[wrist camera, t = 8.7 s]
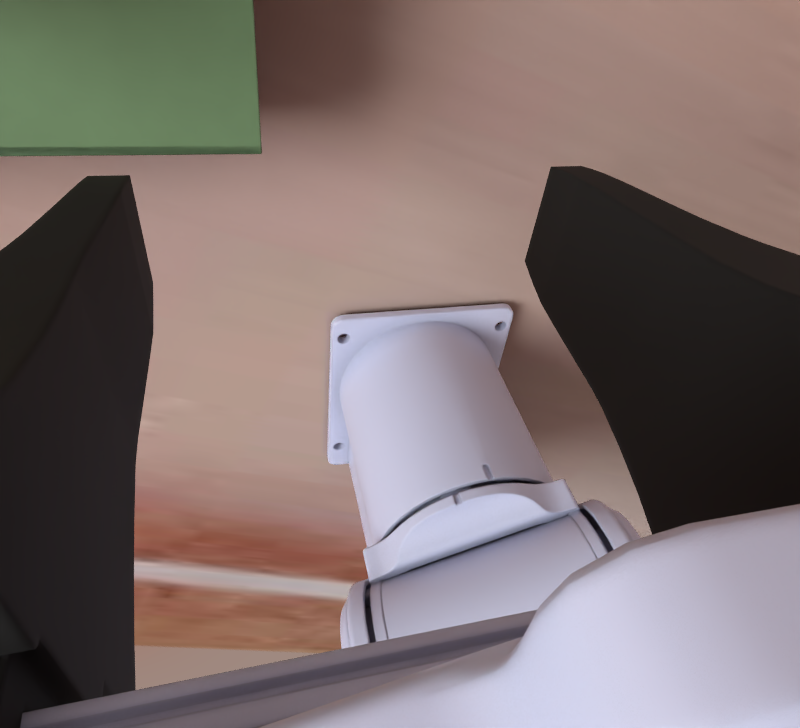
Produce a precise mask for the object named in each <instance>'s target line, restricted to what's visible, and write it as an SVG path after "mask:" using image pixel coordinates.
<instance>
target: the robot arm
mask: <svg viewBox="0 0 800 728" xmlns="http://www.w3.org/2000/svg"><path fill="white" fill-rule="evenodd" d="M525 263H526V266H527V268H528V271H529V274H530V277H531V279H532V282H533V285H534V287H535V290H536V292H537V294H538V297H539V299H540V302H541V304H542V305H543V307H544V309H545V311H546V313H547V314H548V316H549V318H550V320H551V321H552V323H553V325H554V326H555V328H556V330H557V332H558V333H559V335H560V337H561V338H562V340H563V342H564V343H565V345H566V347H567V348H568V350H569V352H570V353H571V355H572V357H573V358H574V360H575V362H576V363H577V365H578V367H579V368H580V370H581V372H582V373H583V375H584V377H585V378H586V380H587V382H588V383H589V385H590V387H591V388H592V390H593V392H594V394H595V396H596V398H597V399H598V401H599V403H600V405H601V407H602V409H603V411H604V413H605V416H606V418H607V420H608V422H609V425H610V427H611V429H612V431H613V434H614V436H615V438H616V440H617V443H618V445H619V447H620V450H621V452H622V455H623V457H624V460H625V462H626V465H627V467H628V470H629V472H630V475H631V477H632V480H633V482H634V485H635V487H636V490H637V492H638V495H639V498H640V501H641V504H642V506H643V509H644V512H645V515H646V518H647V521H648V523H649V526H650V529H651V532H652V535H650V536H647V537H643V538H640V536H639V535H638V533H637V532H636V530H635V529H634V528H633V526H632V525H631V524H630V522H629V521H628V520H627V519H626V518H625V517H624V516H623V515H622V514H621V513H619V512H618V511H616V510H613V509H611V508H609V507H607V506H606V505H605V504H603V503H602V502H600V501H598V500H595V499H592V500H589V501H586V502H584V503H581V504H579V505H578V504H577V502H576V500H575V498H574V496H573V494H572V492H571V490H570V488H569V487H568V485H567V483H566V481H565V479H559V480H556V481H553V479H552V477H551V475H550V473H549V471H548V469H547V467H546V465H545V463H544V461H543V459H542V457H541V455H540V453H539V451H538V449H537V447H536V445H535V443H534V441H533V439H532V437H531V435H530V433H529V431H528V429H527V427H526V425H525V423H524V421H523V419H522V417H521V415H520V413H519V411H518V409H517V407H516V405H515V403H514V401H513V399H512V397H511V395H510V393H509V391H508V389H507V387H506V384H505V382H504V380H503V378H502V376H501V374H500V372H499V370H498V368H499V365H500V361H501V358H502V354H503V350H504V347H505V343H506V340H507V336H508V333H509V329H510V326H511V322H512V319H513V311H512V309H511V307H510V306H509V305H508V304H504V303H501V304H487V305H473V306H459V307H445V308H430V309H416V310H402V311H388V312H374V313H360V314H345V315H339V316H337V317H336V318H334V319H333V321H332V322H331V336H330V371H329V407H328V442H327V457H328V461H329V462H330V463H331V464H334V465H339V464H347V463H349V466H350V471H351V475H352V480H353V484H354V489H355V494H356V498H357V503H358V507H359V512H360V517H361V521H362V526H363V530H364V535H365V540H366V544H367V548H365V549H364V550H363V554H364V559H365V563H366V568H367V573H368V578H369V579H366V580H363V581H360V582H357V583H355V584H353V585H352V587H351V588H350V590H349V594H348V598H347V600H346V602H345V605H344V607H343V609H342V612H341V619H340V635H341V646H342V649H339V650H334V651H329V652H324V653H319V654H314V655H309V656H304V657H299V658H294V659H289V660H284V661H279V662H274V663H269V664H264V665H259V666H254V667H249V668H244V669H239V670H234V671H229V672H224V673H219V674H214V675H209V676H204V677H199V678H194V679H189V680H184V681H179V682H174V683H169V684H164V685H159V686H154V687H149V688H144V689H139V690H135V652H134V506H135V464H136V453H137V443H138V435H139V428H140V421H141V414H142V407H143V401H144V394H145V387H146V380H147V373H148V366H149V359H150V352H151V345H152V337H153V281H152V276H151V271H150V267H149V262H148V258H147V253H146V248H145V244H144V239H143V235H142V230H141V225H140V221H139V216H138V211H137V207H136V202H135V198H134V193H133V188H132V184H131V179H130V175H124V176H87V177H86V178H84V179H83V180H82V181H81V182H79V183H78V184H77V185H76V186H75V187H74V188H73V189H72V190H70V191H69V192H68V193H67V194H66V195H65V196H64V197H63V198H62V199H61V200H60V201H59V202H57V203H56V204H55V205H54V206H53V207H52V208H51V209H50V210H49V211H48V212H46V213H45V214H44V215H43V216H42V217H41V218H40V219H39V220H37V221H36V222H35V223H34V224H33V225H32V226H31V227H29V228H28V229H27V230H26V231H25V232H24V233H23V234H21V235H20V236H19V237H18V238H16V239H15V240H14V241H12V242H11V243H10V244H9V245H7V246H6V247H5V248H3V249H2V250H1V251H0V728H800V255H796V254H794V253H791V252H788V251H785V250H782V249H779V248H776V247H773V246H770V245H767V244H764V243H761V242H758V241H756V240H753V239H751V238H748V237H745V236H743V235H740V234H738V233H735V232H733V231H730V230H728V229H726V228H723V227H721V226H719V225H716V224H714V223H711V222H709V221H707V220H704V219H702V218H700V217H698V216H695V215H693V214H691V213H689V212H687V211H684V210H682V209H680V208H678V207H676V206H674V205H672V204H669V203H667V202H665V201H663V200H661V199H659V198H657V197H655V196H652V195H650V194H648V193H646V192H644V191H642V190H640V189H638V188H635V187H633V186H631V185H629V184H627V183H625V182H623V181H620V180H618V179H616V178H613V177H611V176H609V175H606V174H604V173H601V172H599V171H596V170H593V169H590V168H586V167H582V166H565V167H551V169H550V172H549V176H548V179H547V183H546V187H545V190H544V194H543V197H542V201H541V205H540V208H539V212H538V216H537V219H536V223H535V226H534V230H533V234H532V237H531V241H530V244H529V248H528V252H527V255H526V259H525ZM499 322H502V323H501V324H499V325H496V324H497V323H499ZM342 334H348V335H346V336H345V337H339V336H340V335H342ZM337 443H338V444H337Z"/></svg>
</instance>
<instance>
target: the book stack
mask: <svg viewBox="0 0 800 728" xmlns="http://www.w3.org/2000/svg"><path fill="white" fill-rule="evenodd" d="M261 153H262V148H261V130H260V112H259V94H258V76H257V59H256V41H255V23H254V5H253V0H0V156H82V155H190V154H261Z"/></svg>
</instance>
